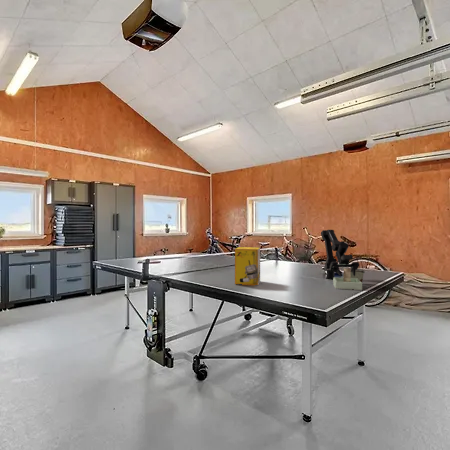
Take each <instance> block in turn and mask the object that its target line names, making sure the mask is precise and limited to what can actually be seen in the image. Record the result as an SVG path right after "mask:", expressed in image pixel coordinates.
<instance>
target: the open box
mask: <svg viewBox="0 0 450 450" xmlns="http://www.w3.org/2000/svg"><path fill="white" fill-rule="evenodd" d="M332 284H333V287H334V289H336V290H337V289H338V290H339V289H340V290H352V289H354V290H355V291H362V290H363V283H362V282H361V281H360V280H359V279H354V278H351V282H344V277H335V278H333V279H332Z"/></svg>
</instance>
